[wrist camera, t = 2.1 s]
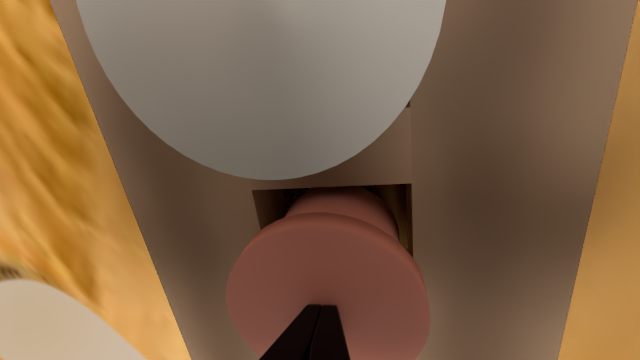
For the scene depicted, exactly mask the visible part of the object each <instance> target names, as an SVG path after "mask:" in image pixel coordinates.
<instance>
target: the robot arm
mask: <svg viewBox="0 0 640 360" xmlns="http://www.w3.org/2000/svg"><path fill="white" fill-rule="evenodd" d="M259 360H351V359H350V355H349V351H348V347H347V343H346V339H345V335H344V330H343V326H342V322H341V318H340V314H339V310H338V306H337V305H323V306H322V305H320V304H308V305H306V306H305V307H304V308H303V310H302V311H301V312H300V313H299V314H298V315H297V316H296V318H295V319H294V320H293V321H292V322H291V323H290V324H289V326H288V327H287V328H286V329H285V330H284V331H283V332H282V334H281V335H280V336H279V337H278V338H277V339H276V340H275V342H274V343H273V344H272V345H271V346H270V347H269V348H268V350H267V351H266V352H265V353H264V354H263V355H262V356H261V358H260V359H259Z"/></svg>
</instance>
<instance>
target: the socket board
mask: <svg viewBox="0 0 640 360" xmlns="http://www.w3.org/2000/svg"><path fill="white" fill-rule="evenodd" d="M49 1H50V3H51V6H52V8H53V11H54V13H55V16H56V18H57V21H58V24H59V26H60V29H61V31H62V34H63V36H64V39H65V41H66V44H67V46H68V49H69V51H70V54H71V56H72V59H73V61H74V64H75V66H76V69H77V72H78V74H79V77H80V79H81V82H82V84H83V87H84V89H85V92H86V94H87V97H88V99H89V102H90V104H91V107H92V109H93V112H94V114H95V117H96V120H97V122H98V125H99V127H100V130H101V132H102V135H103V137H104V140H105V142H106V145H107V147H108V150H109V152H110V155H111V157H112V160H113V162H114V165H115V168H116V170H117V173H118V175H119V178H120V180H121V183H122V185H123V188H124V190H125V193H126V195H127V198H128V200H129V203H130V205H131V208H132V210H133V213H134V216H135V218H136V221H137V223H138V226H139V228H140V231H141V233H142V236H143V238H144V241H145V243H146V246H147V248H148V251H149V253H150V256H151V259H152V261H153V264H154V266H155V269H156V271H157V274H158V276H159V279H160V281H161V284H162V286H163V289H164V291H165V294H166V296H167V299H168V301H169V304H170V307H171V309H172V312H173V314H174V317H175V319H176V322H177V324H178V327H179V329H180V332H181V334H182V337H183V339H184V342H185V344H186V347H187V349H188V352H189V355H190V357H191V360H259V359H260V358H261V356H259V355H258V354H257V353H256V352H255V351H254V350H253V349H252V348H251V347H250V346H249V345H248V344H247V343H246V342H245V341H244V340H243V338H242V337H241V335H240V334H239V333H238V331H237V329H236V328H235V326H234V324H233V322H232V320H231V317H230V314H229V311H228V307H227V301H226V288H227V281H228V278H229V274H230V272H231V270H232V268H233V266H234V264H235V263H236V261H237V259H238V258H239V256H240V255H241V253H242V252H243V250H244V249H245V247H246V246H247V244H248V243H249V241H250V240H251V239H252V238H253V237H254V236H255V235H256V234H257V233H258V232H259V231H260V230H262V229H263V228H265V227H266V226H267V225H269V224H271V223H273V222H275V221H277V220H280V219H282V218H285V216H286V214H287V209H286V203H285V198H284V193H283V189H290V188H314V187H337V186H361V185H384V184H406V189H407V229H408V253H409V254H410V255H411V256H412V257H413V259H414V261H415V262H416V264H417V265H418V267H419V269H420V271H421V274H422V276H423V279H424V283H425V286H426V292H427V297H428V303H429V309H430V320H431V322H430V331H429V335H428V338H427V341H426V343H425V345H424V347H423V349H422V351H421V352H420V354H419V355H418V356H417V358H416V359H415V360H558V356H559V351H560V347H561V342H562V338H563V333H564V329H565V324H566V320H567V316H568V311H569V307H570V302H571V298H572V293H573V289H574V284H575V280H576V275H577V271H578V266H579V262H580V257H581V253H582V248H583V244H584V239H585V235H586V230H587V226H588V221H589V217H590V212H591V208H592V203H593V199H594V194H595V190H596V185H597V181H598V176H599V172H600V167H601V163H602V158H603V154H604V149H605V145H606V141H607V136H608V132H609V127H610V123H611V118H612V114H613V109H614V105H615V100H616V96H617V91H618V87H619V82H620V78H621V73H622V69H623V64H624V60H625V55H626V51H627V46H628V42H629V37H630V33H631V28H632V24H633V19H634V15H635V10H636V6H637V1H638V0H446V4H445V9H444V14H443V19H442V24H441V29H440V33H439V36H438V39H437V42H436V45H435V48H434V51H433V54H432V57H431V60H430V63H429V65H428V67H427V69H426V71H425V73H424V75H423V77H422V80H421V82H420V84H419V86H418V87H417V89H416V91H415V92H414V94H413V95H412V97H411V99H410V100H409V102H408V103H407V105H406V107H405V108H404V109H403V110H402V112H401V113H400V114H399V115H398V117H397V118H396V119H395V120H394V121H393V123H392V124H391V125H390V126H389V127H388V128H387V129H386V130H385V131H384V132H383V133H382V134H381V135H380V136H379V137H378V138H377V139H376V140H375V141H374V142H372V143H371V144H370V145H368V146H367V147H366V148H364V149H363V150H362V151H360V152H359V153H357V154H356V155H355V156H353V157H351V158H349V159H347V160H346V161H344V162H342V163H340V164H338V165H337V166H334V167H331V168H329V169H326V170H324V171H321V172H319V173H315V174H311V175H307V176H303V177H299V178H292V179H283V180H257V179H250V178H243V177H238V176H234V175H230V174H226V173H222V172H219V171H217V170H214V169H212V168H209V167H206V166H204V165H202V164H200V163H198V162H196V161H194V160H192V159H190V158H188V157H186V156H184V155H183V154H181V153H180V152H178V151H177V150H175V149H174V148H172V147H171V146H169V145H168V144H167V143H165V142H164V141H163V140H162V139H160V138H159V137H158V136H157V135H156V134H154V133H153V132H152V131H151V130H150V129H149V128H148V127H147V126H146V125H145V124H144V123H143V122H142V121H141V120H140V119H139V118H138V117H137V116H136V115H135V114H134V113H133V111H132V110H131V109H130V108H129V107H128V105H127V104H126V103H125V102H124V100H123V99H122V98H121V97H120V95H119V94H118V92H117V91H116V89H115V88H114V86H113V85H112V83H111V82H110V80H109V79H108V77H107V75H106V74H105V72H104V70H103V68H102V66H101V64H100V62H99V61H98V59H97V57H96V55H95V53H94V50H93V48H92V46H91V43H90V41H89V38H88V36H87V34H86V31H85V28H84V25H83V22H82V19H81V16H80V12H79V9H78V6H77V2H76V0H49Z"/></svg>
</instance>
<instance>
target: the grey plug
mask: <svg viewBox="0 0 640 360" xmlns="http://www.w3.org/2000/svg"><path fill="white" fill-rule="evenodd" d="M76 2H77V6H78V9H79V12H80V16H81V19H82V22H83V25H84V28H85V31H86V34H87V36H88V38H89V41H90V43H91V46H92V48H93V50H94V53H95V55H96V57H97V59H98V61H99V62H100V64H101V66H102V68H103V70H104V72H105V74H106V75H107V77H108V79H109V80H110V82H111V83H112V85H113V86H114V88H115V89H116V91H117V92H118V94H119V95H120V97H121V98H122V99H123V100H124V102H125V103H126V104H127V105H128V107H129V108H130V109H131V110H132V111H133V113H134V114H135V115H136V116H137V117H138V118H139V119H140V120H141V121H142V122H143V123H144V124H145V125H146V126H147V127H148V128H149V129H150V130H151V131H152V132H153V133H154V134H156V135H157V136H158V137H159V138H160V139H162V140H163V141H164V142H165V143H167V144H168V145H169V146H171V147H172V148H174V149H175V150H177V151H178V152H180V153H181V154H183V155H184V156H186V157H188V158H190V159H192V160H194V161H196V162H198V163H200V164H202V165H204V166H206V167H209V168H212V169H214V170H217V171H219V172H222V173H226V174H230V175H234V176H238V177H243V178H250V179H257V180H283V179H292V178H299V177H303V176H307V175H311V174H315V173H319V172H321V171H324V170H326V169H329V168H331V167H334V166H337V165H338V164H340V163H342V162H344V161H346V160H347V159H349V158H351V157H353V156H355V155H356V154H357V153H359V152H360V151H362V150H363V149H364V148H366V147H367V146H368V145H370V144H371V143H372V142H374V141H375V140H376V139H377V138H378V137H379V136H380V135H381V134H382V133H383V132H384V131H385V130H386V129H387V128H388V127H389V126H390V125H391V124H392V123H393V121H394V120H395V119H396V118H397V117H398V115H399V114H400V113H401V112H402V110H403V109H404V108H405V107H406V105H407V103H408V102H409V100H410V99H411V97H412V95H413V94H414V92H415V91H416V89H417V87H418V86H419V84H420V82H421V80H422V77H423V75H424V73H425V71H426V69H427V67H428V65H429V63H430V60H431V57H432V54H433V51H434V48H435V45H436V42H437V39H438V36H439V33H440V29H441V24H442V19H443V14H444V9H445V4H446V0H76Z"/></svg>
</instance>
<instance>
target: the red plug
mask: <svg viewBox="0 0 640 360" xmlns="http://www.w3.org/2000/svg"><path fill="white" fill-rule="evenodd" d="M226 301H227V307H228V311H229V314H230V317H231V320H232V322H233V324H234V326H235V328H236V329H237V331H238V333H239V334H240V335H241V337H242V338H243V340H244V341H245V342H246V343H247V344H248V345H249V346H250V347H251V348H252V349H253V350H254V351H255V352H256V353H257V354H258V355H259V356H262V355H263V354H264V353H265V352H266V351H267V350H268V348H269V347H270V346H271V345H272V344H273V343H274V342H275V340H276V339H277V338H278V337H279V336H280V335H281V334H282V332H283V331H284V330H285V329H286V328H287V327H288V326H289V324H290V323H291V322H292V321H293V320H294V319H295V318H296V316H297V315H298V314H299V313H300V312H301V311H302V310H303V308H304V307H305V306H306V305H308V304H320V305H322V306H323V305H337V306H338V310H339V314H340V318H341V322H342V326H343V330H344V335H345V339H346V343H347V347H348V351H349V355H350V359H351V360H415V359H416V358H417V356H418V355H419V354H420V352H421V351H422V349H423V347H424V345H425V343H426V341H427V338H428V335H429V331H430V322H431V320H430V309H429V303H428V297H427V292H426V286H425V283H424V279H423V276H422V274H421V271H420V269H419V267H418V265H417V264H416V262H415V261H414V259H413V257H412V256H411V255H410V254H409V253H408V251H407V250H406V249H405V248H404V247H403V246H402V245H401V244H400V238H399V229H398V225H397V221H396V219H395V217H394V214H393V213H392V211H391V210H390V208H389V207H388V206H387V205H386V203H385V202H384V201H383V200H381V199H380V198H379V197H378V196H376V195H375V194H374V193H372V192H370V191H368V190H366V189H364V188H362V187H359V186H337V187H314V188H311V189H309V190H307V191H305V192H304V193H302V194H301V195H300V196H299V197H298V198H297V199H296V200H295V201H294V202H293V203H292V205H291V206H290V208H289V210H288V212H287V214H286V216H285V218H282V219H280V220H277V221H275V222H273V223H271V224H269V225H267V226H266V227H265V228H263V229H262V230H260V231H259V232H258V233H257V234H256V235H255V236H254V237H253V238H252V239H251V240H250V241H249V243H248V244H247V246H246V247H245V249H244V250H243V252H242V253H241V255H240V256H239V258H238V259H237V261H236V263H235V264H234V266H233V268H232V270H231V272H230V274H229V278H228V281H227V288H226Z"/></svg>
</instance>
